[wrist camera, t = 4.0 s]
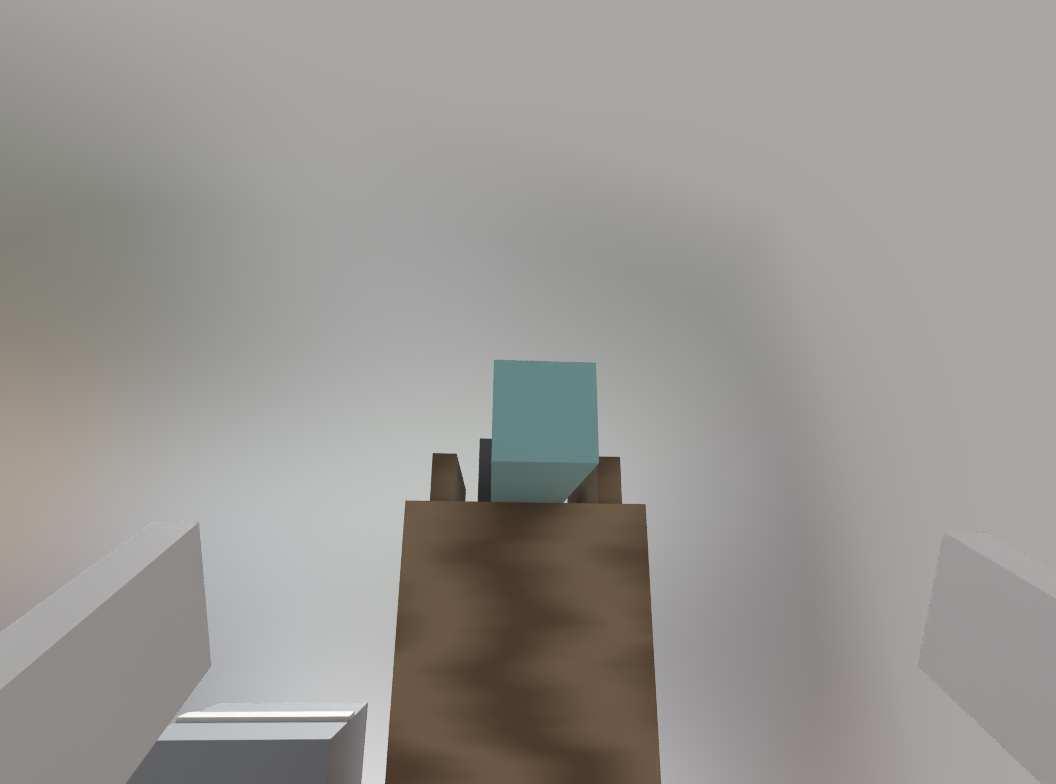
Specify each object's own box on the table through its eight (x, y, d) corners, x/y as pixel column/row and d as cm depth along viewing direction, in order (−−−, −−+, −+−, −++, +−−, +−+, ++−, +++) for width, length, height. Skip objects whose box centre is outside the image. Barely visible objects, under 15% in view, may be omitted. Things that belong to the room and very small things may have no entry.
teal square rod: (465, 460, 16) (471, 315, 17) (478, 527, 35) (481, 455, 36) (624, 463, 16) (617, 320, 18) (551, 528, 35) (551, 456, 37)
